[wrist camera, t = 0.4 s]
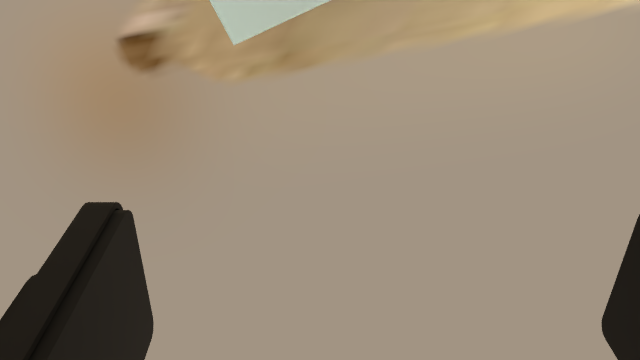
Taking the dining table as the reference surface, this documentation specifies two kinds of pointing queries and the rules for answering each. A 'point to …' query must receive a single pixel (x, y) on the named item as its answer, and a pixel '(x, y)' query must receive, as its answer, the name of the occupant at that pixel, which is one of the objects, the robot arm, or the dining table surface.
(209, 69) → the dining table surface
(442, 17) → the dining table surface
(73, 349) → the robot arm
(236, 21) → the lid
